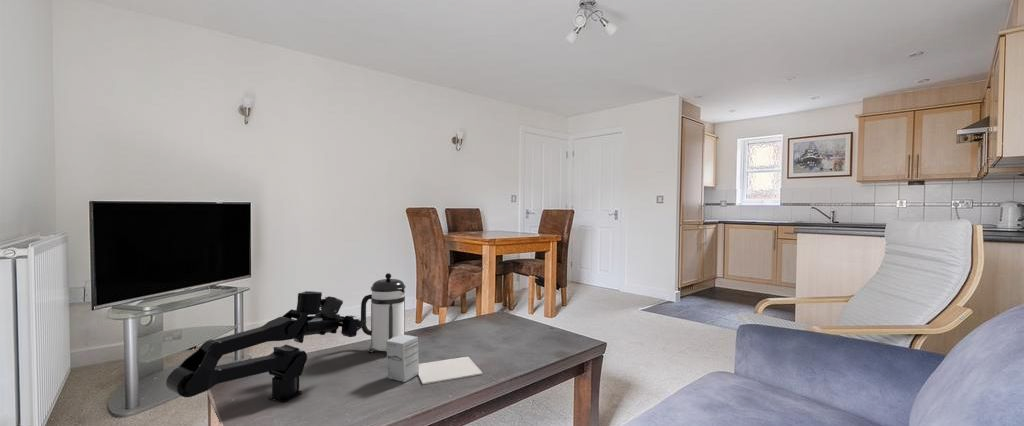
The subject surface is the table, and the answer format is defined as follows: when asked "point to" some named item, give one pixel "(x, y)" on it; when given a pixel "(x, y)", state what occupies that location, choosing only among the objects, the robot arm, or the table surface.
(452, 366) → the mat
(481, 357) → the table surface
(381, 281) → the coffee press
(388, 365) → the supplement box
